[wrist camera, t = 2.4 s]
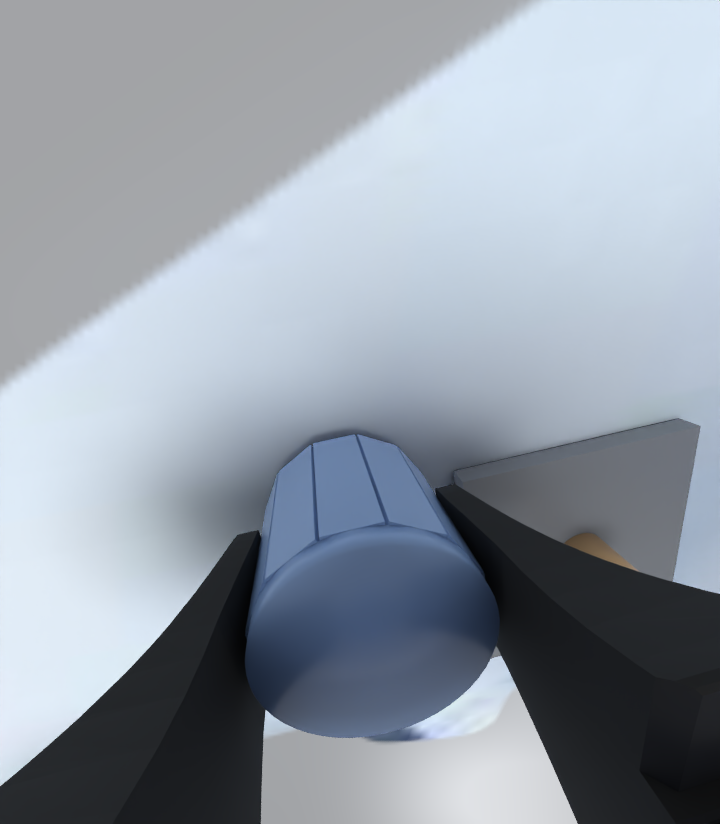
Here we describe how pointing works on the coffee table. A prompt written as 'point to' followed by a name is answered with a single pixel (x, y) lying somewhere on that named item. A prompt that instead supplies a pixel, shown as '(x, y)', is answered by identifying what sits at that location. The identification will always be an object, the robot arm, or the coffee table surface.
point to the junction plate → (600, 494)
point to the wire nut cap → (363, 596)
